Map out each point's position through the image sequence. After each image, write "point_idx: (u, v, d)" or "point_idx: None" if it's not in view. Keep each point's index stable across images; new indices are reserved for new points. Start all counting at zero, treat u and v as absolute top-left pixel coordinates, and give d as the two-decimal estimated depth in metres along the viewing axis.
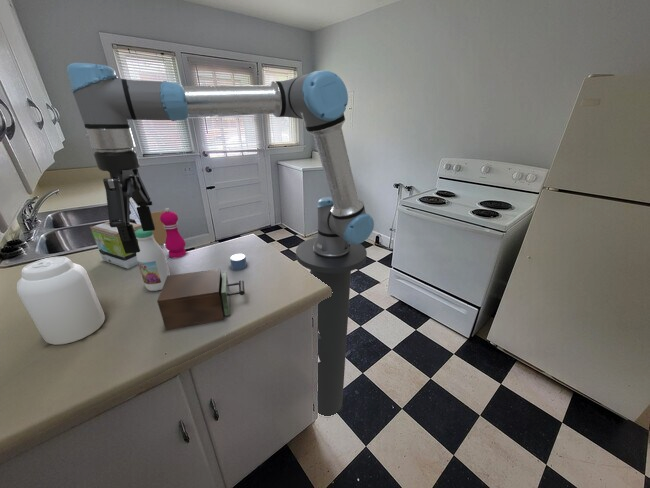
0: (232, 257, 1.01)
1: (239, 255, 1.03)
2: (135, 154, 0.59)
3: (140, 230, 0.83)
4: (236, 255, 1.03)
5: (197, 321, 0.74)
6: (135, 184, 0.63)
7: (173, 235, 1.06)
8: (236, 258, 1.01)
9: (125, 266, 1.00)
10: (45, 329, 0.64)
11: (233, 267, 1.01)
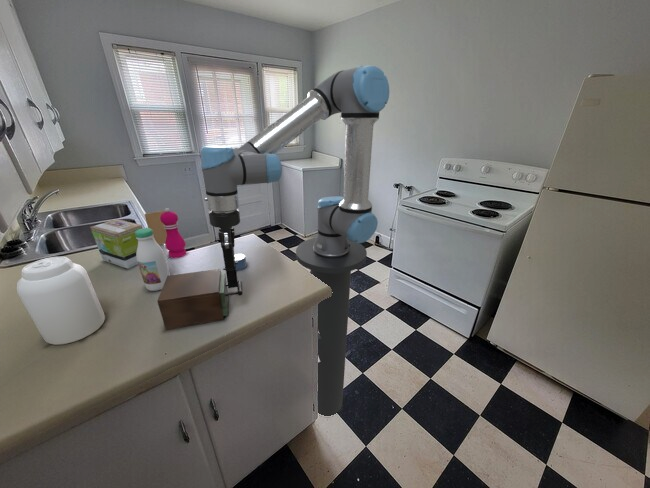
0: None
1: (239, 255, 1.03)
2: None
3: (140, 230, 0.83)
4: (236, 255, 1.03)
5: (197, 321, 0.74)
6: None
7: (173, 235, 1.06)
8: (236, 258, 1.01)
9: (125, 266, 1.00)
10: (45, 329, 0.64)
11: None
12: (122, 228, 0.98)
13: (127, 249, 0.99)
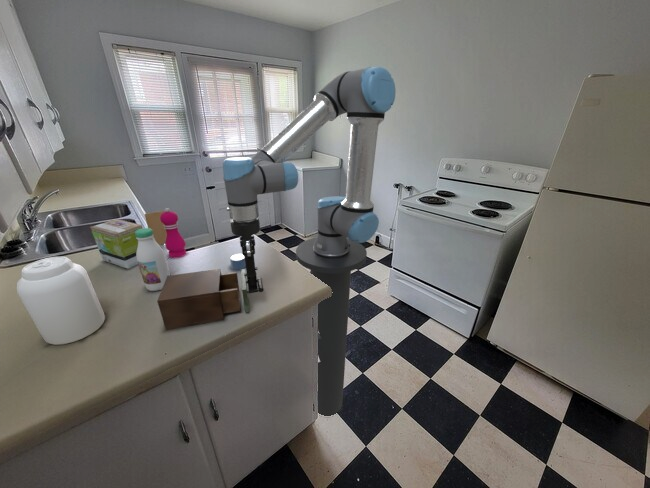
0: (232, 257, 1.01)
1: (239, 255, 1.03)
2: None
3: (140, 230, 0.83)
4: (236, 255, 1.03)
5: (197, 321, 0.74)
6: None
7: (173, 235, 1.06)
8: (236, 258, 1.01)
9: (125, 266, 1.00)
10: (45, 329, 0.64)
11: (233, 267, 1.01)
12: (122, 228, 0.98)
13: (127, 249, 0.99)
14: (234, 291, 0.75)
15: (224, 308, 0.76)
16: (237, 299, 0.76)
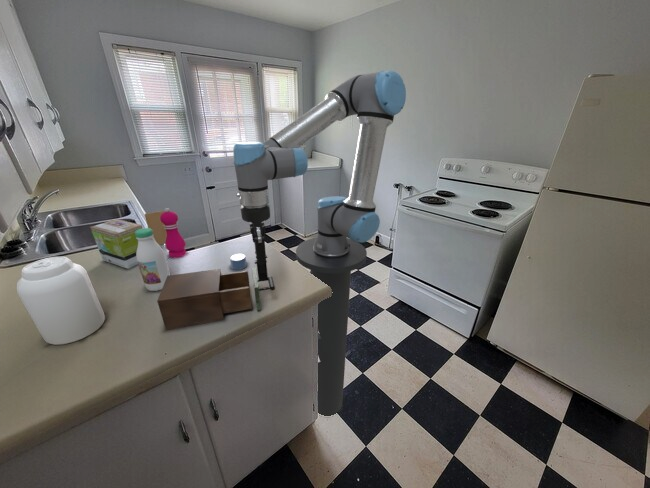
0: (232, 257, 1.01)
1: (239, 255, 1.03)
2: (269, 207, 0.73)
3: (140, 230, 0.83)
4: (236, 255, 1.03)
5: (197, 321, 0.74)
6: None
7: (173, 235, 1.06)
8: (236, 258, 1.01)
9: (125, 266, 1.00)
10: (45, 329, 0.64)
11: (233, 267, 1.01)
12: (122, 228, 0.98)
13: (127, 249, 0.99)
14: (247, 289, 0.76)
15: (236, 306, 0.77)
16: (249, 297, 0.77)
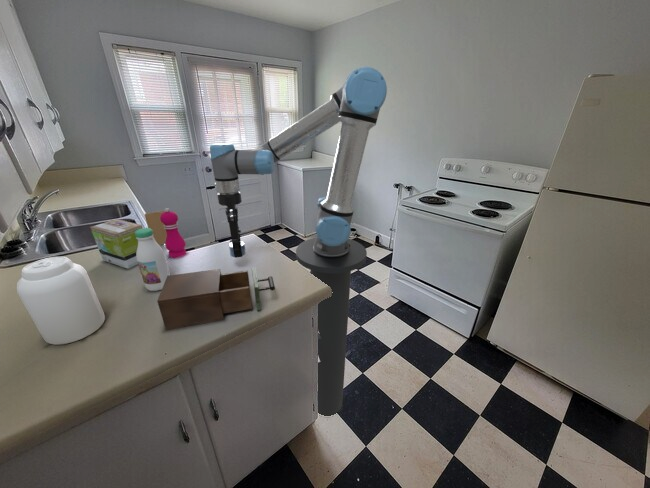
0: (231, 244, 0.99)
1: None
2: (240, 194, 0.92)
3: (140, 230, 0.83)
4: None
5: (197, 321, 0.74)
6: None
7: (173, 235, 1.06)
8: None
9: (125, 266, 1.00)
10: (45, 329, 0.64)
11: (232, 254, 0.98)
12: (122, 228, 0.98)
13: (127, 249, 0.99)
14: (247, 289, 0.76)
15: (236, 306, 0.77)
16: (249, 297, 0.77)
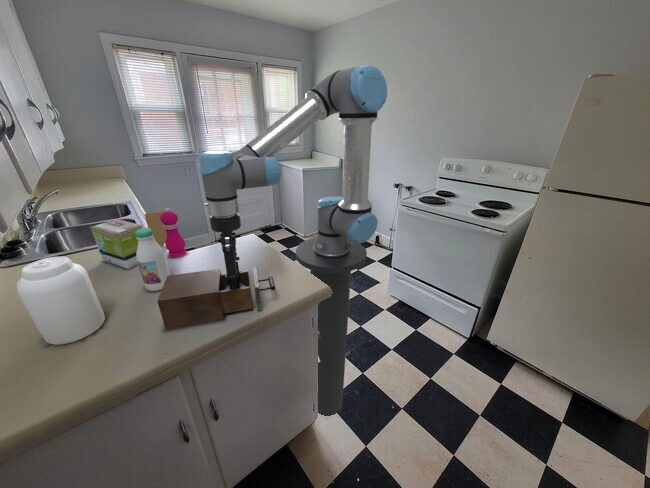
0: (228, 288, 0.80)
1: None
2: (239, 216, 0.71)
3: (140, 230, 0.83)
4: None
5: (197, 321, 0.74)
6: None
7: (173, 235, 1.06)
8: None
9: (125, 266, 1.00)
10: (45, 329, 0.64)
11: None
12: (122, 228, 0.98)
13: (127, 249, 0.99)
14: (247, 289, 0.76)
15: (236, 305, 0.77)
16: (250, 297, 0.77)
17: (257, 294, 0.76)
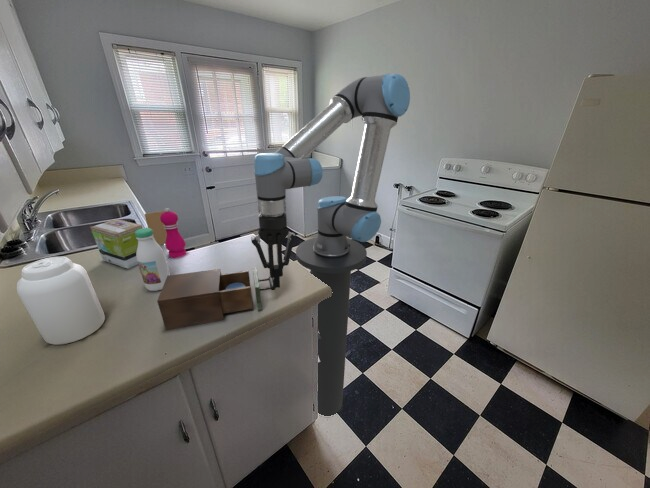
0: (228, 288, 0.80)
1: (237, 285, 0.81)
2: (273, 220, 0.71)
3: (140, 230, 0.83)
4: (234, 285, 0.81)
5: (197, 321, 0.74)
6: (277, 240, 0.76)
7: (173, 235, 1.06)
8: None
9: (125, 266, 1.00)
10: (45, 329, 0.64)
11: None
12: (122, 228, 0.98)
13: (127, 249, 0.99)
14: (248, 289, 0.76)
15: (237, 305, 0.77)
16: (250, 297, 0.77)
17: (257, 294, 0.76)
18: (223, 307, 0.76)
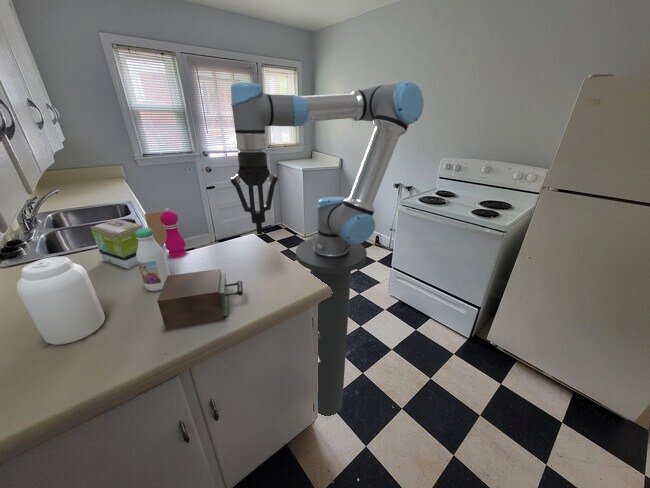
0: None
1: None
2: (251, 156, 0.69)
3: (140, 230, 0.83)
4: None
5: (197, 321, 0.74)
6: (257, 180, 0.74)
7: (173, 235, 1.06)
8: None
9: (125, 266, 1.00)
10: (45, 329, 0.64)
11: None
12: (122, 228, 0.98)
13: (127, 249, 0.99)
14: None
15: None
16: None
17: (222, 300, 0.74)
18: None
